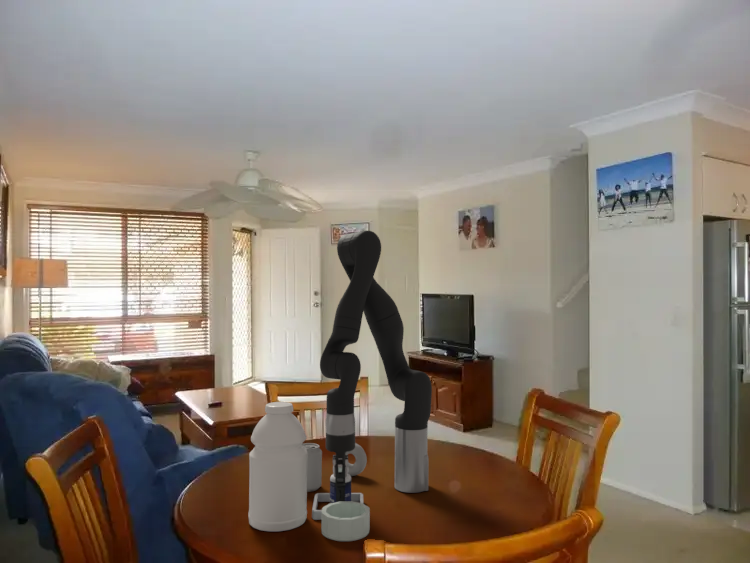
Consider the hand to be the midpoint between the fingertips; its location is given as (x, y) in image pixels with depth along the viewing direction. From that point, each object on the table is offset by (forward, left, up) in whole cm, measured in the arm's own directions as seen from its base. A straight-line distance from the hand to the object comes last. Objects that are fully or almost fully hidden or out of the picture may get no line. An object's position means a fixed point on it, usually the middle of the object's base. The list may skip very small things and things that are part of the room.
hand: (340, 496), depth 144 cm
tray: (+1, 0, -3) cm, 3 cm away
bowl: (-1, +13, -3) cm, 13 cm away
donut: (-2, -27, -3) cm, 27 cm away
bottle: (+15, +7, -3) cm, 17 cm away
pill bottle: (0, 0, -2) cm, 2 cm away
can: (+10, -16, -3) cm, 19 cm away
